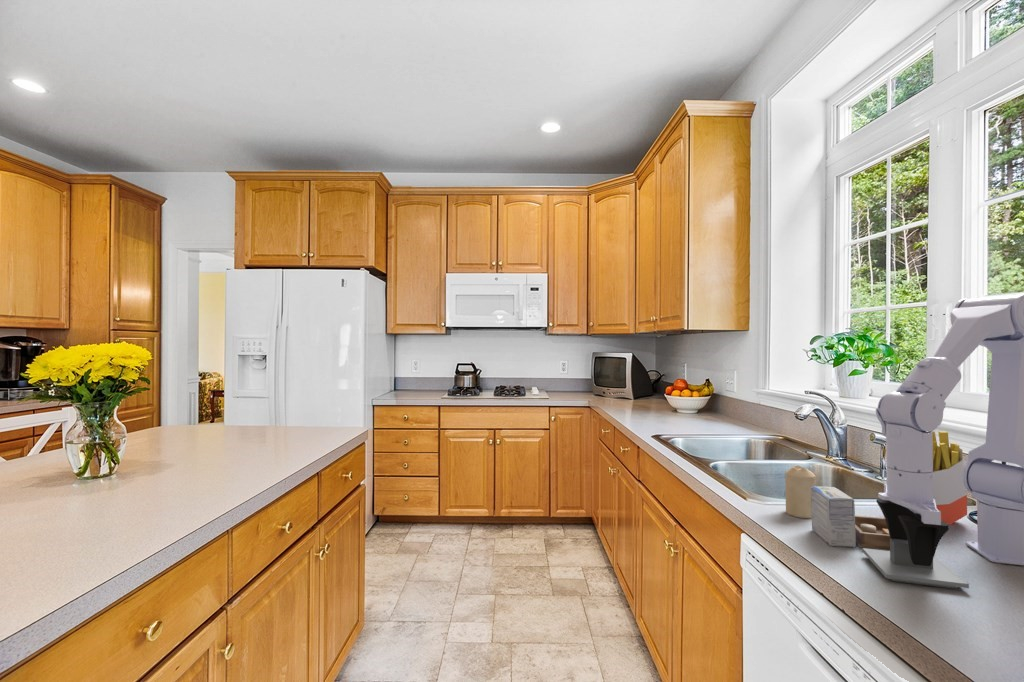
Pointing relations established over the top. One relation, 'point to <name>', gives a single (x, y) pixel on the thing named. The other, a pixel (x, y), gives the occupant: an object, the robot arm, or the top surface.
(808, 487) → the candle
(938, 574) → the lid
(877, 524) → the box
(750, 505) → the top surface
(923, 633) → the top surface
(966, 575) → the top surface
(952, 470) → the french fries container
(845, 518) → the medicine box
